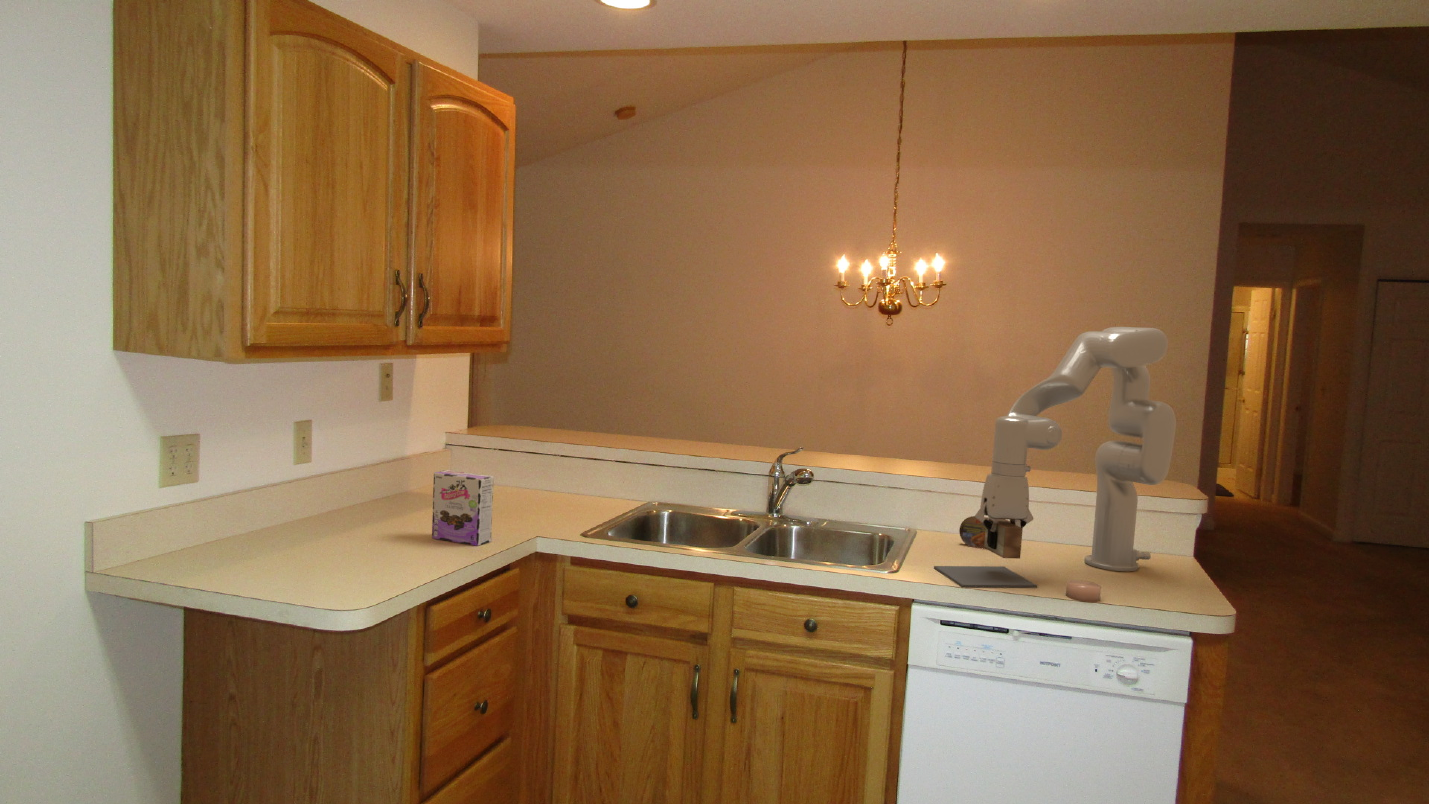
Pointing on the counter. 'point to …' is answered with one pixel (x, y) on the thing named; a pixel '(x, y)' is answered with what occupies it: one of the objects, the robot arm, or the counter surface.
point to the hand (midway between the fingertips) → (1001, 547)
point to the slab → (1006, 540)
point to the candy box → (462, 507)
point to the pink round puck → (1083, 591)
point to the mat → (984, 577)
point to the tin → (973, 532)
